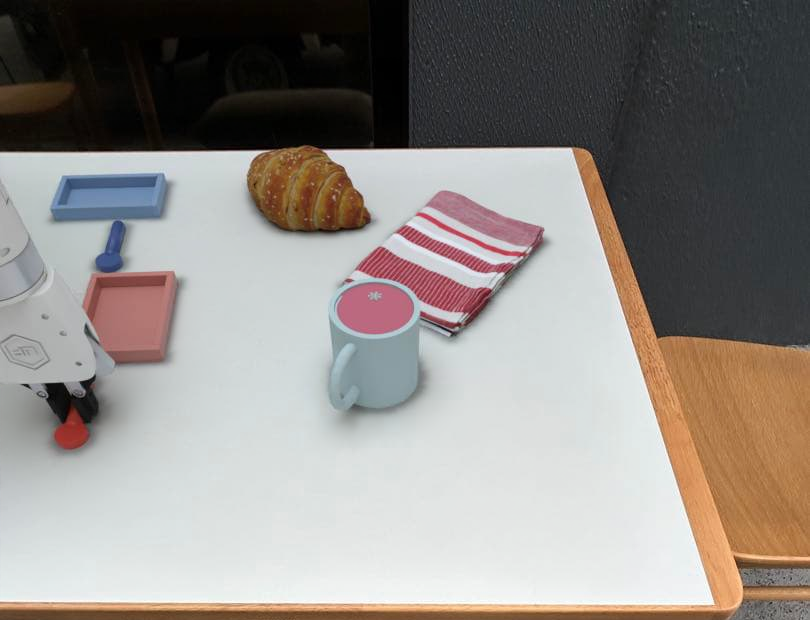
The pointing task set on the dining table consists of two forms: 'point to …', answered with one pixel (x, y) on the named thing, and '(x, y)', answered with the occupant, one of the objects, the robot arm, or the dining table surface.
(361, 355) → the mug
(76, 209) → the blue tray
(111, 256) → the blue spoon
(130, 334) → the rose tray
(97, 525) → the dining table surface
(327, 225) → the pastry
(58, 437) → the red spoon
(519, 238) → the dish towel
